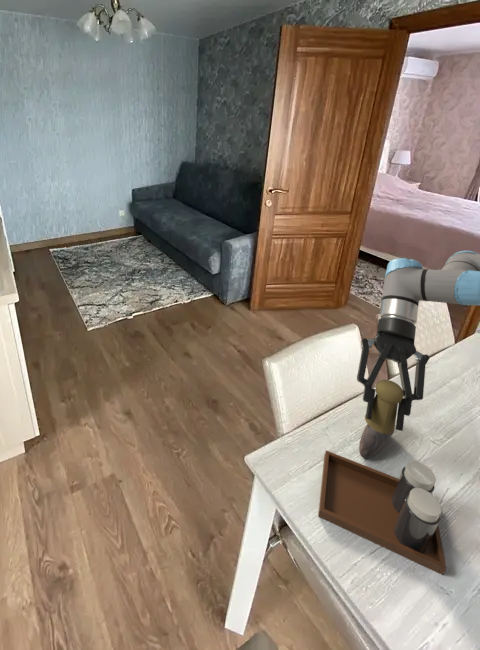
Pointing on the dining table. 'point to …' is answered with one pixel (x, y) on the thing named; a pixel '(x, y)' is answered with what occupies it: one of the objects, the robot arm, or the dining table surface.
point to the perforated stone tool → (372, 441)
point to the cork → (385, 406)
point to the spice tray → (369, 508)
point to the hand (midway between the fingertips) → (383, 424)
